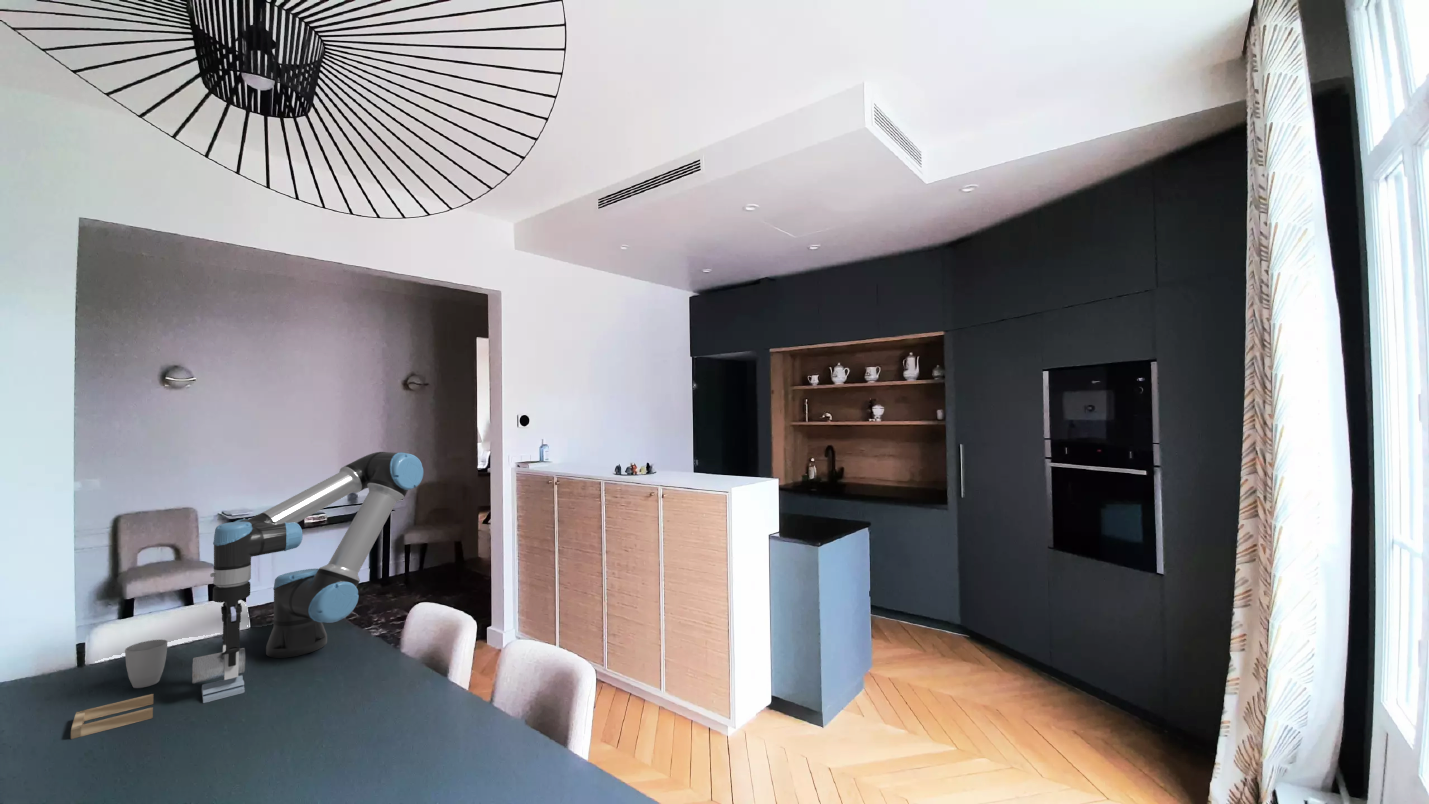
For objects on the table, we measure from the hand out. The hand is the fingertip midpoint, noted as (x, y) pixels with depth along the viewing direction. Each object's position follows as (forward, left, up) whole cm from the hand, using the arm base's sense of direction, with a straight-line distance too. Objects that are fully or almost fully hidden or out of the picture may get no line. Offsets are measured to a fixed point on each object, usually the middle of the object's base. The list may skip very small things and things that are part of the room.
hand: (230, 673), depth 152 cm
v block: (0, -1, -4) cm, 5 cm away
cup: (-20, -16, -5) cm, 26 cm away
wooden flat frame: (0, -21, -4) cm, 21 cm away
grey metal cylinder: (+1, -2, 0) cm, 2 cm away
